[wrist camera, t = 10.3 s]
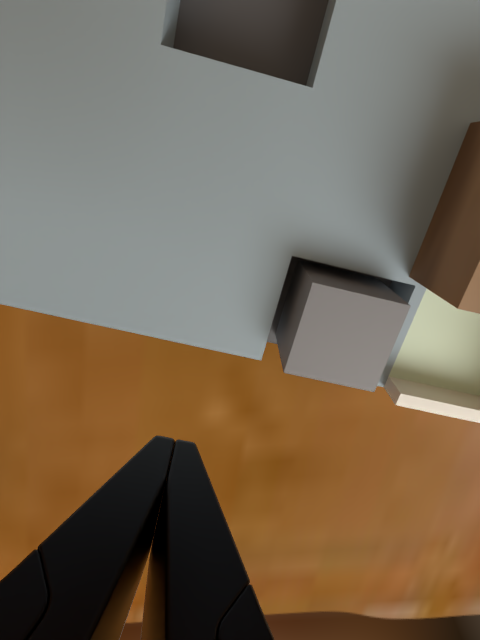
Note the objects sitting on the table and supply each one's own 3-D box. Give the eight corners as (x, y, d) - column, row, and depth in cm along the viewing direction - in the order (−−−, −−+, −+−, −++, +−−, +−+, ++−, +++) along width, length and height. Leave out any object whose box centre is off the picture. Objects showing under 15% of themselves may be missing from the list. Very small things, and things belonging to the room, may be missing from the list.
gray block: (275, 334, 20) (283, 372, 16) (298, 259, 19) (312, 282, 15) (349, 350, 20) (374, 391, 17) (377, 278, 19) (410, 305, 15)
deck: (22, 285, 19) (-56, 329, 14) (40, -146, 14) (-78, -330, 9) (471, 385, 22) (544, 454, 16) (648, 48, 16) (844, -8, 11)
